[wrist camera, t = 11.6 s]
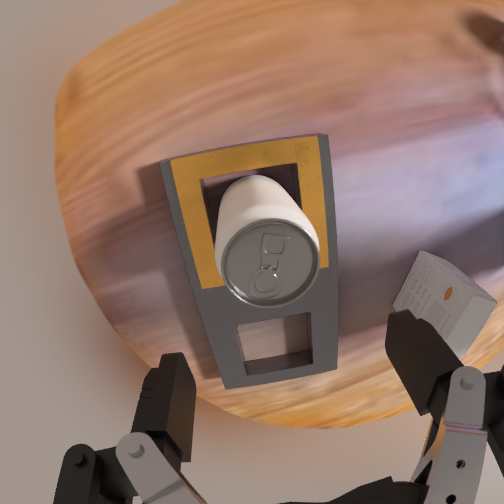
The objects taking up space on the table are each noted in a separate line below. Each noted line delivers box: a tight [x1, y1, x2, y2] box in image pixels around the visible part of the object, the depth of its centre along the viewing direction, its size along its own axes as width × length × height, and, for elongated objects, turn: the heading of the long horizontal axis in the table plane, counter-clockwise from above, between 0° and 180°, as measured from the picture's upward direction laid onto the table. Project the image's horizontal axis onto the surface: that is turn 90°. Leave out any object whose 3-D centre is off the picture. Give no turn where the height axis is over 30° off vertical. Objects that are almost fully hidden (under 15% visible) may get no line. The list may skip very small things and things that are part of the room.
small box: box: [392, 250, 497, 360], centre depth 28 cm, size 8×6×10 cm
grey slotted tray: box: [159, 133, 338, 389], centre depth 29 cm, size 27×14×3 cm, turn 9°
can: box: [215, 175, 320, 308], centre depth 22 cm, size 6×6×12 cm
